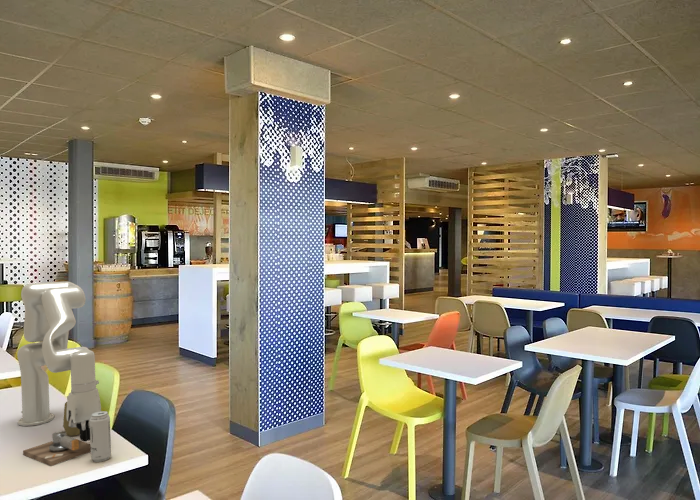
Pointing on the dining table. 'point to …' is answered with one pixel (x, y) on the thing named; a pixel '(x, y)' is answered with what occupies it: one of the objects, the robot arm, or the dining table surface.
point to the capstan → (63, 442)
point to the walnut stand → (55, 453)
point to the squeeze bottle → (69, 430)
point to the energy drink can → (100, 436)
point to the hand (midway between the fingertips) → (85, 440)
